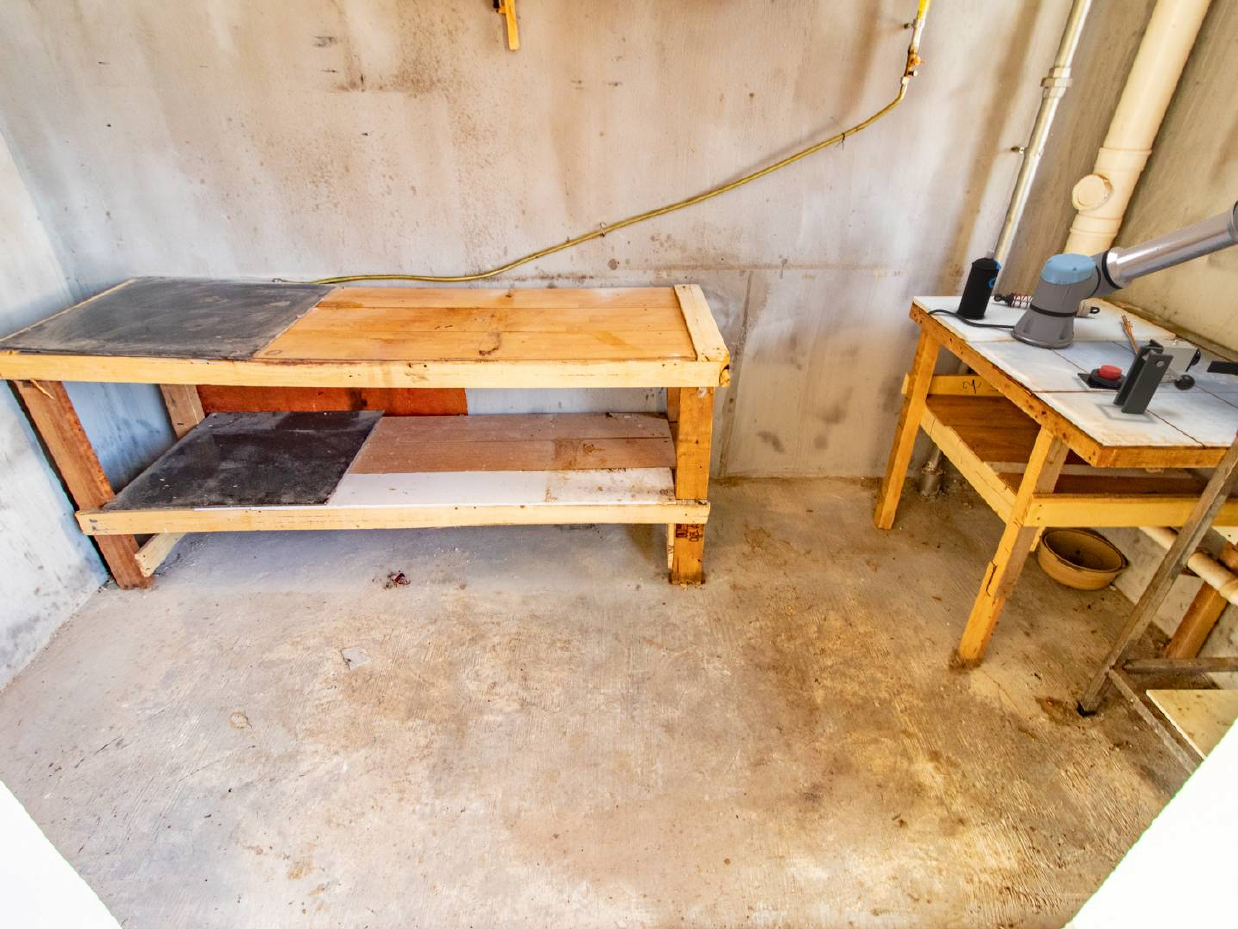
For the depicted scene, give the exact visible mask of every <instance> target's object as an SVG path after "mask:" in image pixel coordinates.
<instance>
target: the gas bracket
mask: <svg viewBox="0 0 1238 929" xmlns="http://www.w3.org/2000/svg"><path fill="white" fill-rule="evenodd" d="M1138 349H1139V351H1138V353H1137V355H1136V354H1135V357H1134V359H1133V361H1132V363H1131V365H1130V367H1129V369H1128V371H1127V373H1126V375H1125V379H1124V381H1123V383H1122V385H1121V387H1120V389H1119V391H1118V390H1117V394H1116V396H1115V397H1114V400H1113V402H1112V404H1113V405H1114V406H1121V407H1122V408H1121V409H1120V412H1121V413H1122V414H1130V415H1141V416H1143V415H1145V412H1146V410H1147V408H1148V406H1149V405H1150V403H1151V400H1152V399H1153V397H1154V395H1155V393H1156V391H1157V390H1158V387H1159V385H1160V384H1161V383H1162V382H1161V380H1162V378H1163V376H1164V374H1165V372H1166V370H1167V369H1168V367H1169V365H1170V363H1171V361H1172V359H1173V357H1174V356H1172V355H1168V354H1162V353H1163V351H1164V349H1163V348H1161V347H1148V346H1144V345H1140V347H1139V348H1138ZM1151 349H1152V350H1153V351H1155V352H1156V353H1157V354H1155V353H1150V354H1149V356H1148V358H1147V360H1146V361H1145V360H1144V359H1143V358H1142V357H1143V356H1144V355H1145V354H1146V353H1148V352H1149V351H1150V350H1151Z"/></svg>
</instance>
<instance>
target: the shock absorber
mask: <svg viewBox="0 0 1238 929" xmlns="http://www.w3.org/2000/svg"><path fill="white" fill-rule="evenodd" d="M1033 295H1034V294H1032V295H1031V296H1030V298H1029V294H1027V293H1026V294H1024V296H1023V297H1022V293H1017V292H1011V293H1010V294H1006V295H1003V294H1002V293H996V294H994V295H993V301H994V302H995V303H1000V302H1004V303H1005V304H1006V305H1007V307H1013V308H1014V307H1015V305H1016V302H1019V303H1018V308H1021V305H1022V304H1023V303H1025V308H1024V309H1028V307H1029V304H1030V303H1031V300H1032V297H1033ZM1018 297H1019V298H1018ZM1025 298H1026V299H1025ZM1100 312H1101V308H1100V307H1098V306H1093V304H1092V301H1088V300H1087V301H1086V300H1082V301H1081V302H1080V305H1079V307H1078V309H1077V312H1076V314H1075V317H1082V318H1087V317H1088V316H1089V315H1090V314H1091V315H1097V314H1099V313H1100Z"/></svg>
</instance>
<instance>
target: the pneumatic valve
mask: <svg viewBox="0 0 1238 929" xmlns="http://www.w3.org/2000/svg"><path fill="white" fill-rule="evenodd" d="M1143 346H1148V347H1161V348H1163V349H1164V351H1163V353H1162V354H1168V355H1172V356H1174V357H1173V359H1172V361H1171V363H1170V365H1169V368H1171V369H1172V370H1173V371H1174V372H1180V373H1181V372H1182V373H1188V372H1189V370H1190V369H1191V368H1192V367H1195V366H1196V365H1198V364H1199V362H1200V360H1201V357H1202V352H1201V349H1200V348H1199V347H1198V346H1196V345H1195V344H1193V343H1192V342H1190V341H1186V340H1185V341H1184V340H1182V341H1181V340H1180V339H1174V340H1172V339H1155V338H1154V339H1152V338H1150V340H1149V342H1148V343H1146V344H1144V345H1143ZM1172 378H1173V377H1172V376H1171V375H1170V374H1168V373H1167V372H1165V374H1164V376H1163V378H1162V380H1161V382H1160V383H1171V381H1172Z"/></svg>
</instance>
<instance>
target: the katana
mask: <svg viewBox="0 0 1238 929" xmlns="http://www.w3.org/2000/svg"><path fill="white" fill-rule="evenodd" d="M1127 318H1128V317H1127V315H1122V316H1121V319H1122V322H1123V325H1124V329H1123V330H1124V331H1125V334H1126V336H1128V338H1129V340H1130V343H1131V345H1132V348H1133V350H1134V352H1135V356H1136V355H1137V353H1138V351H1139V349H1140V348H1139V346H1138V344H1137V342H1136V340H1135V337H1134V334H1133V331H1132V330H1133V325H1132V323H1131V321H1130V320H1128V319H1127Z"/></svg>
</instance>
